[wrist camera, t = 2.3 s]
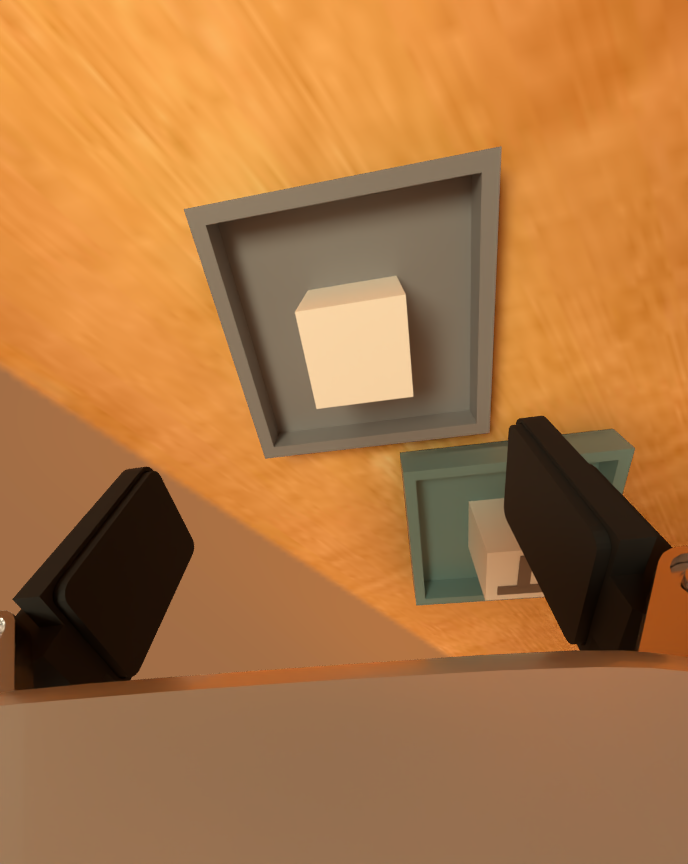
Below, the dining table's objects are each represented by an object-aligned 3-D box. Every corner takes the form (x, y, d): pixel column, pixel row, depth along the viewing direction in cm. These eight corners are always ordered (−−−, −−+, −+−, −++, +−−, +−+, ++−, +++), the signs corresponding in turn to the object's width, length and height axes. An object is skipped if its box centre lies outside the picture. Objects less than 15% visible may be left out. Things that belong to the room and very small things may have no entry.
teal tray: (613, 428, 26) (635, 448, 24) (580, 569, 33) (594, 593, 31) (399, 452, 28) (403, 472, 26) (413, 581, 35) (416, 605, 33)
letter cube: (536, 494, 28) (568, 548, 24) (530, 541, 31) (558, 597, 27) (468, 501, 29) (487, 554, 25) (468, 546, 31) (485, 602, 27)
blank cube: (396, 275, 21) (405, 294, 17) (403, 361, 23) (413, 396, 19) (307, 290, 21) (294, 312, 17) (324, 372, 24) (316, 408, 20)
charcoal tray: (485, 152, 18) (501, 146, 16) (479, 414, 26) (489, 432, 24) (201, 208, 20) (183, 209, 18) (272, 439, 27) (265, 458, 25)
